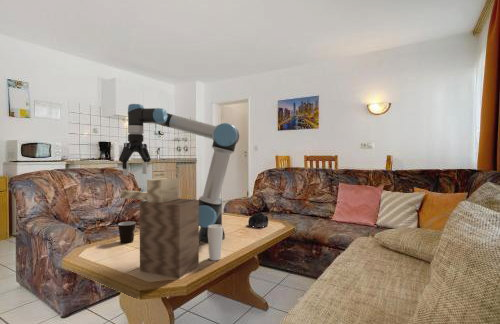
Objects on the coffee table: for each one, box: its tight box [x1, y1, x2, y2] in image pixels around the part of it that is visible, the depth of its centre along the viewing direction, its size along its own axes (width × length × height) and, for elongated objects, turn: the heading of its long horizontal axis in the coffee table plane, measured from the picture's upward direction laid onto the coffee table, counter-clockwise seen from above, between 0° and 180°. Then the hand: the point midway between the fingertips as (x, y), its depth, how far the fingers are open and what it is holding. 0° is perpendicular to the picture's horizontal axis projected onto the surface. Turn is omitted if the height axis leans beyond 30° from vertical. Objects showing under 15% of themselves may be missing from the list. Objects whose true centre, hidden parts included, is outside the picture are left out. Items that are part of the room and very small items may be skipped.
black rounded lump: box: [247, 212, 269, 228], centre depth 187 cm, size 13×14×10 cm
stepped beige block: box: [119, 177, 179, 203], centre depth 119 cm, size 25×11×9 cm, turn 70°
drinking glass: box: [207, 224, 224, 262], centre depth 126 cm, size 7×7×15 cm
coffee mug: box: [117, 221, 136, 245], centre depth 151 cm, size 12×9×10 cm
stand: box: [139, 198, 200, 279], centre depth 115 cm, size 19×14×28 cm
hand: (135, 174), depth 146 cm, fingers open, 13 cm apart
